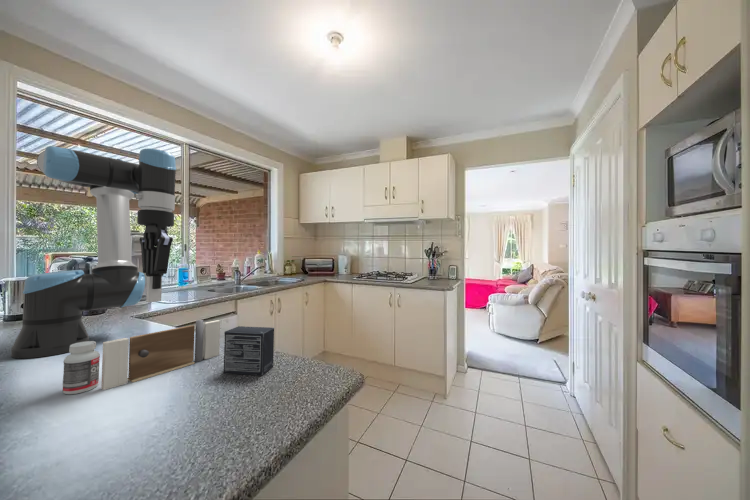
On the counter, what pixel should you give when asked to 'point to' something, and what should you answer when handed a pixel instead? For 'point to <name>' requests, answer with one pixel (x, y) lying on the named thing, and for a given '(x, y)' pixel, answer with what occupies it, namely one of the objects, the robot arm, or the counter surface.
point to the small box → (248, 350)
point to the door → (160, 351)
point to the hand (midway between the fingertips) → (153, 301)
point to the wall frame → (118, 370)
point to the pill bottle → (81, 368)
